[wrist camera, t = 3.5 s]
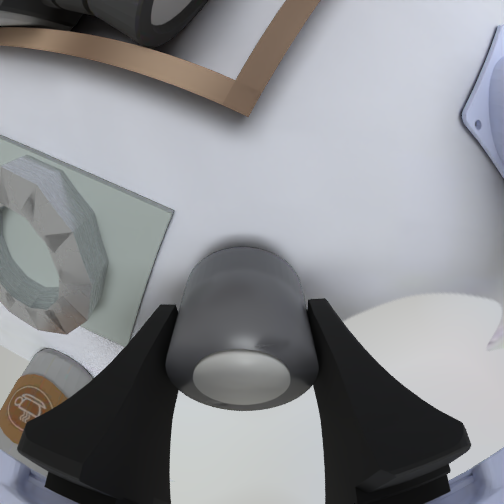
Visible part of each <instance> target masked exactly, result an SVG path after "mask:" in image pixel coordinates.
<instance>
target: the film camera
mask: <svg viewBox="0 0 504 504" xmlns="http://www.w3.org/2000/svg"><path fill="white" fill-rule="evenodd" d="M207 1H208V0H0V26H4V27H22V28H41V29H53V30H62V31H70V30H71V29H72V28H73V27H74V26H76V24H77V23H78V21H79V20H80V18H81V16H82V15H83V13H84V14H88V15H92V16H96V17H98V18H100V19H101V20H103V21H105V22H106V23H108V24H109V25H111V26H113V27H114V28H116V29H117V30H119V31H120V32H122V33H123V34H125V35H126V36H128V37H129V38H131V39H132V40H134V41H135V42H137V43H138V44H140V45H141V46H143V47H145V48H153V47H157V46H159V45H162V44H164V43H165V42H167V41H169V40H170V39H171V38H173V37H174V36H175V35H176V34H177V33H179V32H180V31H181V30H182V29H183V28H184V27H185V26H186V25H187V24H188V23H189V22H190V21H191V20H192V19H193V18H194V16H195V15H196V14H197V13H198V12H199V11H200V9H201V8H202V7H203V6H204V5H205V3H206V2H207Z"/></svg>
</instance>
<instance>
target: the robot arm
mask: <svg viewBox="0 0 504 504" xmlns="http://www.w3.org/2000/svg"><path fill="white" fill-rule="evenodd" d="M462 119H463V122H464V124H465V125H466V127H467V128H468V129H469V130H470V132H471V133H472V134H473V135H474V137H475V138H476V139H477V141H478V142H479V143H480V145H481V146H482V147H483V149H484V150H485V151H486V153H487V154H488V156H489V157H490V158H491V160H492V161H493V163H494V164H495V166H496V167H497V169H498V170H499V172H500V174H501V175H502V177H503V178H504V25H499V26H498V28H497V31H496V34H495V37H494V40H493V42H492V45H491V48H490V51H489V53H488V56H487V58H486V61H485V63H484V66H483V68H482V71H481V73H480V75H479V78H478V80H477V82H476V84H475V86H474V89H473V91H472V93H471V95H470V97H469V99H468V101H467V103H466V105H465V107H464V109H463V112H462ZM475 122H476V124H477V125H476V127H475ZM307 314H308V318H309V323H310V327H311V332H312V336H313V341H314V346H315V350H316V355H317V360H318V367H319V370H318V375H317V378H316V380H315V382H314V384H313V386H314V390H315V395H316V399H317V403H318V408H319V413H320V419H321V428H322V437H323V449H324V465H325V494H326V496H325V497H326V498H325V501H326V502H325V504H504V448H502V449H500V450H499V451H497V452H496V453H494V454H493V455H491V456H490V457H488V458H487V459H485V460H483V461H482V462H480V463H479V464H477V465H475V466H474V467H473V468H471V469H469V470H468V471H466V472H464V473H462V474H460V475H458V476H457V477H455V478H453V479H451V480H449V481H448V478H447V474H448V473H450V467H449V463H451V462H452V461H454V460H455V459H457V458H458V457H460V456H461V455H463V454H464V453H466V452H467V451H468V450H469V449H470V447H471V443H470V440H469V437H468V434H467V432H466V429H465V427H464V425H463V423H462V422H460V421H458V420H456V419H454V418H453V417H451V416H449V415H447V414H445V413H443V412H441V411H439V410H438V409H436V408H434V407H433V406H431V405H430V404H428V403H427V402H425V401H423V400H422V399H421V398H419V397H418V396H417V395H415V394H414V393H412V392H411V391H410V390H408V389H407V388H406V387H404V386H403V385H402V384H401V383H400V382H398V381H397V380H396V379H395V378H394V377H393V376H391V375H390V374H389V373H388V372H387V371H386V370H385V369H384V368H383V367H382V366H381V365H380V364H379V363H378V362H377V361H376V360H375V359H374V358H373V357H372V356H371V355H370V354H369V353H368V352H367V351H366V350H365V349H364V348H363V346H362V345H361V344H360V343H359V342H358V341H357V339H356V338H355V337H354V336H353V334H352V333H351V332H350V331H349V330H348V328H347V327H346V326H345V324H344V323H343V322H342V321H341V319H340V318H339V317H338V315H337V314H336V313H335V311H334V310H333V308H332V307H331V305H330V304H329V303H328V301H327V300H326V299H325V298H324V299H310V300H308V309H307ZM177 316H178V311H177V307H176V305H160V306H159V307H158V308H157V309H156V311H155V312H154V313H153V314H152V315H151V317H150V318H149V319H148V320H147V322H146V323H145V324H144V325H143V326H142V328H141V329H140V330H139V331H138V333H137V334H136V335H135V336H134V337H133V338H132V340H131V341H130V342H129V343H128V344H127V345H126V347H125V348H124V349H123V350H122V351H121V352H120V353H119V354H118V355H117V356H116V357H115V359H114V360H113V361H112V362H111V363H110V364H109V365H108V366H107V367H106V368H105V369H104V370H103V371H102V372H100V373H99V374H98V375H97V376H96V377H95V378H94V379H93V380H91V381H90V382H89V383H88V384H87V385H85V386H84V387H83V388H81V389H80V390H79V391H78V392H76V393H75V394H74V395H72V396H71V397H70V398H68V399H67V400H65V401H64V402H62V403H61V404H59V405H58V406H56V407H54V408H53V409H51V410H49V411H48V412H46V413H44V414H42V415H40V416H38V417H36V418H34V419H32V420H30V421H28V422H27V423H26V425H25V428H24V430H23V433H22V436H21V439H20V441H19V444H18V447H17V451H18V452H19V453H20V454H21V455H22V456H24V457H25V458H27V459H28V460H30V461H32V462H33V463H35V464H36V465H38V466H40V467H41V468H43V469H45V470H46V471H48V475H47V477H45V476H43V475H42V474H40V473H38V472H36V471H34V470H32V469H31V468H29V467H28V466H26V465H25V464H23V463H21V462H20V461H18V460H17V459H15V458H14V457H12V456H10V455H9V454H7V453H6V452H4V451H3V450H1V449H0V504H171V499H170V478H169V468H170V466H169V465H170V464H169V463H170V440H171V428H172V419H173V413H174V408H175V403H176V399H177V394H178V389H177V388H176V387H175V386H174V384H173V383H172V382H171V381H170V379H169V377H168V375H167V372H166V367H165V364H166V358H167V354H168V350H169V346H170V342H171V338H172V334H173V331H174V327H175V323H176V320H177Z"/></svg>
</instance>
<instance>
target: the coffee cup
mask: <svg viewBox="0 0 504 504" xmlns="http://www.w3.org/2000/svg"><path fill="white" fill-rule="evenodd" d="M91 380H93V378H92V377H91V375H90V374H89V373H88V372H87V371H86V370H85V369H84V368H83V367H82V366H81V365H80V364H78V363H77V362H76V361H74V360H73V359H71V358H70V357H68V356H66V355H64V354H62V353H61V352H58V351H55V350H52V349H43V350H42V351H41V352H37V353H36V354H35V355H34V357H33V358H32V360H31V362H30V363H29V365H28V366H27V368H26V369H25V371H24V373H23V374H22V376H21V377H20V378H19V379H18V380H17V382H16V384H15V385H14V387H13V389H12V391H11V393H10V394H9V396H8V398H7V399H6V401H5V403H4V405H3V407H2V408H1V410H0V449H1V450H3V451H4V452H6V453H7V454H9V455H10V456H12V457H14V458H15V459H17V460H18V461H20V462H21V463H23V464H25V465H26V466H28V467H29V468H31V469H32V470H34V471H36V472H38V473H40V474H42V475H43V476H45V477H47V475H48V471H46V470H45V469H43V468H41V467H40V466H38V465H36V464H35V463H33V462H32V461H30V460H28V459H27V458H25V457H24V456H22V455H21V454H20V453H19V452H18V451H17V447H18V444H19V441H20V439H21V436H22V433H23V430H24V428H25V425H26V423H27V422H28V421H30V420H32V419H34V418H36V417H38V416H40V415H42V414H44V413H46V412H48V411H49V410H51V409H53V408H54V407H56V406H58V405H59V404H61V403H62V402H64V401H65V400H67V399H68V398H70V397H71V396H72V395H74V394H75V393H76V392H78V391H79V390H80V389H81V388H83V387H84V386H85V385H87V384H88V383H89V382H90V381H91Z"/></svg>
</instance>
